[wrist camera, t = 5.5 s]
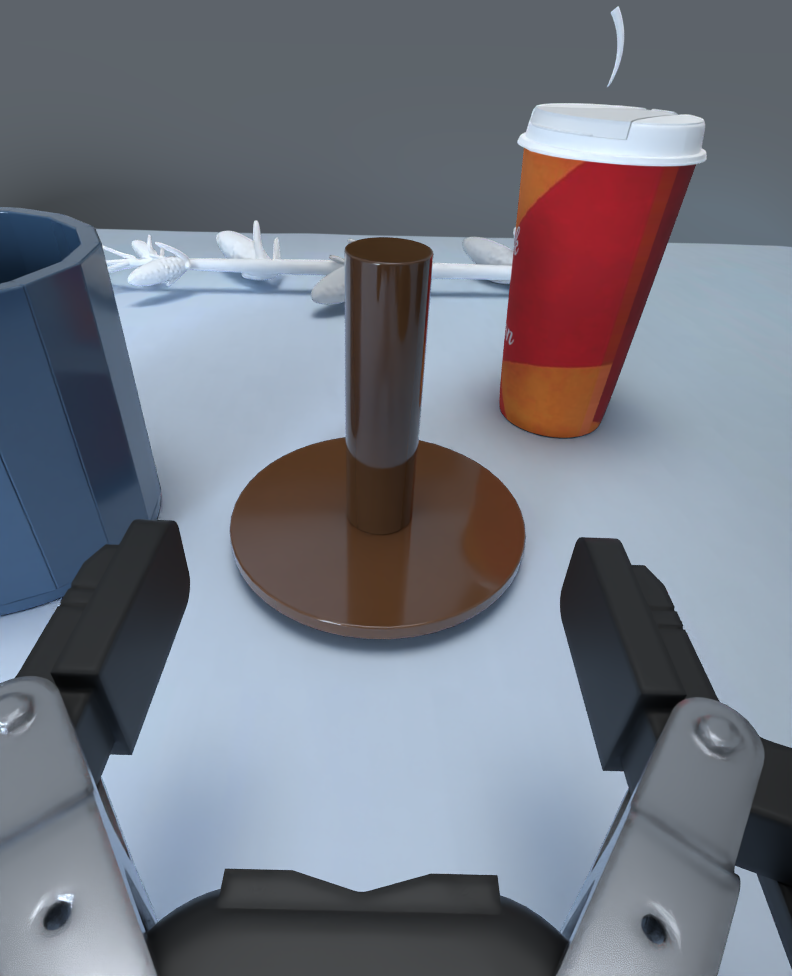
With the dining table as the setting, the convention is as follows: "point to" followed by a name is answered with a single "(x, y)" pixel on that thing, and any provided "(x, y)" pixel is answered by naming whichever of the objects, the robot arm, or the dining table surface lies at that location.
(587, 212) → the paper cup
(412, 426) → the paper towel holder
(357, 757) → the dining table surface
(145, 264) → the dried plant stem
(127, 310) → the dining table surface
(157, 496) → the blue faceted canister
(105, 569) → the robot arm
